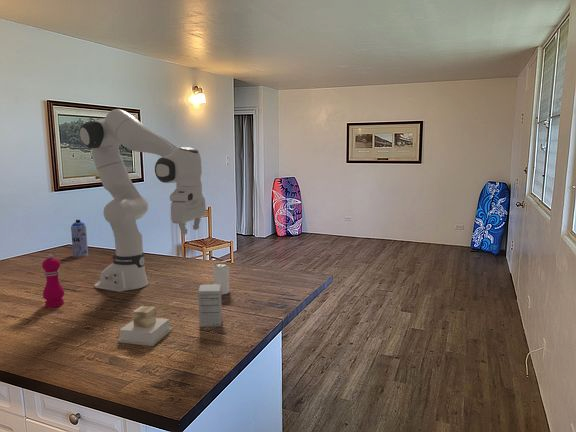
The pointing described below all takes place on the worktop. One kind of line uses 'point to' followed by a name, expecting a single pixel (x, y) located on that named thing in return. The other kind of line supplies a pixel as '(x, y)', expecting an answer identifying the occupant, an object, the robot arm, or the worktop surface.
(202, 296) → the supplement box
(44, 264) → the pepper mill
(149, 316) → the maple block
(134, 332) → the pedestal
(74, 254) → the aerosol can
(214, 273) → the can
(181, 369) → the worktop surface
